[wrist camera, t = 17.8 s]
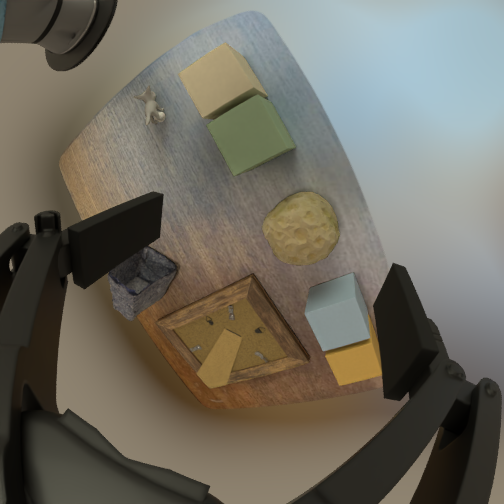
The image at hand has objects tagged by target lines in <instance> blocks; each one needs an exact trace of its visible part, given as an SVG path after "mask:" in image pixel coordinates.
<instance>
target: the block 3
mask: <svg viewBox="0 0 504 504" xmlns="http://www.w3.org/2000/svg"><path fill="white" fill-rule="evenodd" d="M305 316H306V318H307V320H308V322H309V324H310V326H311V328H312V330H313V332H314V334H315V336H316V338H317V340H318V342H319V344H320V346H321V348H322V350H323V351H327V350H330V349H334V348H338V347H342V346H345V345H349V344H352V343H356V342H359V341H362V340H366V339H369V338H370V329H369V320H368V311H367V307H366V305H365V302H364V299H363V296H362V294H361V291H360V288H359V286H358V283H357V280H356V278H355V275H354V273H350V274H347V275H345V276H342V277H339V278H336V279H334V280H331V281H328V282H325V283H322V284H319V285H316V286H313V287H311V288H310V290H309V295H308V300H307V304H306V309H305Z"/></svg>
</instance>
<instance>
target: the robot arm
mask: <svg viewBox="0 0 504 504" xmlns="http://www.w3.org/2000/svg"><path fill="white" fill-rule="evenodd" d="M98 10H99V0H0V43H34V44H38V45H40V46H42V47H44V48H45V49H47V50H48V51H49V53H53V54H54V53H55V54H67V53H70V52H71V51H73V50H74V49H76V48H77V47H78V46H79V45H80V44H81V43H82V41H83V40H84V39H85V38H86V36H87V35H88V33H89V32H90V30H91V28H92V26H93V24H94V22H95V20H96V17H97V14H98ZM163 196H164V194H161V193H157V192H150V193H147V194H145V195H142V196H140V197H137V198H135V199H132V200H130V201H127V202H125V203H122V204H120V205H117V206H115V207H113V208H110V209H108V210H106V211H103V212H101V213H99V214H96V215H94V216H92V217H90V218H87V219H85V220H83V221H81V222H79V223H77V224H74V225H72V226H70V227H68V228H67V229H65V230H63V231H61V219H60V213H59V212H56V211H44V212H40V213H38V214H37V215H35V217H34V220H35V229H36V235H33V234H30V232H29V225H28V224H27V223H20V222H19V223H15V224H13V225H11V226H10V227H8V228H7V229H6V230H5V231H4V232H2V233H1V234H0V504H224V503H222V502H221V501H220V500H219V499H217V498H216V497H214V496H213V495H211V494H210V493H208V491H209V488H210V486H209V485H206V484H203V483H201V482H198V481H196V480H193V479H191V478H188V477H186V476H183V475H181V474H179V473H176V472H174V471H172V470H170V469H165V468H161V467H157V466H153V465H149V464H145V463H141V462H138V461H135V460H131V459H128V458H126V457H124V456H123V455H122V454H121V453H120V452H119V451H118V450H117V449H116V448H115V447H114V446H113V445H112V444H111V443H110V442H109V441H108V440H107V439H106V438H105V437H104V436H103V435H102V434H101V433H100V432H99V431H98V430H97V429H96V428H95V427H93V426H92V425H90V424H89V423H87V422H86V421H84V420H83V419H82V418H80V417H79V416H78V415H76V414H75V413H74V412H72V411H71V410H70V409H67V410H66V411H65V413H64V414H59V411H58V408H57V404H56V378H57V360H58V347H59V337H60V328H61V321H62V314H63V307H64V301H65V295H66V289H67V284H68V281H67V275H68V274H70V273H71V272H72V274H73V281H74V284H76V285H78V286H80V287H81V288H83V289H86V288H87V287H89V286H90V285H91V284H93V283H94V282H95V281H97V280H98V279H100V278H101V277H102V276H104V275H105V274H107V273H108V272H109V271H111V270H112V269H114V268H115V267H117V266H118V265H119V264H121V263H122V262H124V261H125V260H127V259H128V258H130V257H131V256H133V255H134V254H136V253H137V252H139V251H140V250H142V249H143V248H145V247H146V246H148V245H149V244H151V243H152V242H154V241H155V240H157V239H158V238H160V230H161V217H162V206H163ZM10 259H11V261H12V266H13V269H12V270H11V271H10V268H9V263H10ZM373 307H374V314H375V320H376V327H377V334H378V342H379V350H380V359H381V368H382V379H383V392H384V398H386V399H391V400H397V401H400V400H401V399H402V398H403V397H404V396H405V395H406V394H407V392H409V399H410V400H409V401H408V402H407V403H406V404H405V405H404V406H403V407H402V408H401V409H400V410H399V411H398V412H397V413H396V414H395V416H394V417H393V418H392V419H391V420H390V421H389V422H388V423H387V424H386V425H385V426H384V427H383V428H382V429H381V430H380V431H379V432H378V433H377V434H376V435H375V436H374V437H373V438H372V439H371V440H370V441H369V442H367V443H366V444H365V445H364V446H363V447H362V448H361V449H360V450H359V451H358V452H356V453H355V454H354V455H353V456H352V457H350V458H349V459H348V460H347V461H346V462H344V463H343V464H342V465H341V466H340V467H338V468H337V469H336V470H334V471H333V472H332V473H331V474H329V475H328V476H327V477H325V478H324V479H323V480H321V481H320V482H319V483H317V484H316V485H314V486H313V487H311V488H310V489H309V490H307V491H306V492H304V493H303V494H301V495H300V496H298V497H297V498H295V499H293V500H292V501H290V502H289V503H287V504H378V503H379V502H380V501H381V500H382V499H383V498H384V497H385V496H386V495H387V494H388V493H389V492H390V491H391V490H392V488H393V487H394V486H395V485H396V484H397V483H398V482H399V480H400V479H401V478H402V477H403V476H404V475H405V473H406V472H407V471H408V470H409V468H410V467H411V466H412V465H413V463H414V462H415V461H416V459H417V458H418V457H419V455H420V454H421V453H422V451H423V450H424V449H425V447H426V446H427V444H428V443H429V442H430V440H431V439H432V437H433V436H434V434H435V433H436V431H437V430H438V428H439V427H440V428H439V431H438V434H437V438H436V440H435V443H434V446H433V449H432V452H431V455H430V457H429V461H428V463H427V465H426V468H425V470H424V473H423V475H422V478H421V480H420V483H419V485H418V487H417V489H416V491H415V493H414V495H413V497H412V500H411V502H410V504H488V502H489V498H490V494H491V489H492V485H493V480H494V475H495V469H496V463H497V456H498V449H499V439H500V427H501V404H502V401H501V400H502V397H501V396H502V395H501V391H500V389H499V386H498V385H497V384H496V382H494V381H493V380H491V379H489V378H483V379H481V381H480V382H479V383H478V384H477V385H474V384H472V383H470V382H468V381H466V375H465V372H464V370H463V368H462V367H461V366H460V365H459V364H458V363H456V362H455V361H453V360H450V359H449V357H448V354H447V351H446V348H445V346H444V343H443V342H442V341H443V340H442V338H441V336H440V333H439V330H438V327H437V326H436V325H435V323H434V322H433V321H432V320H431V319H429V318H427V316H426V314H425V311H424V309H423V306H422V304H421V301H420V299H419V297H418V295H417V292H416V290H415V287H414V285H413V283H412V281H411V278H410V276H409V274H408V272H407V270H406V268H405V267H404V266H401V265H398V264H395V263H393V264H392V267H391V269H390V271H389V273H388V275H387V278H386V280H385V282H384V284H383V286H382V288H381V290H380V292H379V295H378V297H377V299H376V301H375V303H374V305H373Z"/></svg>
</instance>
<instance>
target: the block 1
mask: <svg viewBox="0 0 504 504" xmlns="http://www.w3.org/2000/svg"><path fill="white" fill-rule="evenodd" d="M178 75H179V77H180V79H181V81H182V82H183V84H184V86H185V88H186V90H187V91H188V93H189V95H190V97H191V99H192V100H193V102H194V104H195V106H196V108H197V109H198V111H199V113H200V115H201V117H202V118H205V119H213V120H215V119H217V118H218V117H220V116H221V115H223V114H225V113H226V112H228V111H230V110H231V109H233V108H235V107H236V106H238V105H240V104H242V103H243V102H245V101H247V100H249V99H250V98H252V97H254V96H256V95H259V96H261V97H263V98H265V97H267V96H268V95H267V94H266V92H265V90H264V88H263V87H262V85H261V83H260V82H259V80H258V79H257V77H256V75H255V74H254V72H253V70H252V69H251V67H250V66H249V64H248V63H247V61H246V59H245V58H244V57H243V56H242V55H241V54H240V53H238V52H237V51H236V50H235V49H233V48H232V47H231V46H229V45H228V44H227V43H223V44H222V45H220V46H219V47H217V48H215V49H214V50H212V51H211V52H209V53H208V54H206V55H205V56H203V57H202V58H200V59H199V60H197V61H196V62H194V63H193V64H191V65H190V66H188V67H187V68H186V69H184V70H183V71H182V72H180V73H179V74H178Z"/></svg>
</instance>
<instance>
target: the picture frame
mask: <svg viewBox="0 0 504 504" xmlns="http://www.w3.org/2000/svg"><path fill="white" fill-rule="evenodd" d="M156 325H157V326H158V327H159V329H160V330H161V331H162V332H163V334H164V335H165V336H166V337H167V339H168V340H169V341H170V342H171V343H172V345H173V346H174V347H175V348H176V350H177V351H178V352H179V353H180V354H181V355H182V357H183V358H184V359H185V360H186V361H187V362H188V364H189V365H190V366H191V367H192V368H193V369H194V370H195V372H196V373H197V375H198V376H199V377H200V379H201V380H202V381H203V382H204V383H205V384H206V385H207V386H208V387H209V388H215V387H220V386H224V385H227V384H231V383H236V382H240V381H245V380H249V379H253V378H257V377H261V376H265V375H269V374H273V373H276V372H280V371H283V370H287V369H291V368H294V367H297V366H301V365H304V364H307V363H309V360H310V357H309V355H308V354H307V352H306V351H305V349H304V348H303V347H302V345H301V344H300V342H299V341H298V339H297V338H296V336H295V335H294V333H293V332H292V330H291V329H290V327H289V326H288V325H287V323H286V322H285V320H284V319H283V317H282V316H281V314H280V313H279V311H278V310H277V308H276V307H275V305H274V304H273V302H272V301H271V299H270V298H269V296H268V295H267V293H266V292H265V290H264V289H263V288H262V286H261V285H260V283H259V282H258V280H257V279H256V277H255V276H254V274H251V275H249V276H247V277H245V278H243V279H241V280H239V281H237V282H235V283H233V284H231V285H229V286H227V287H225V288H223V289H221V290H219V291H217V292H215V293H213V294H211V295H208V296H206V297H204V298H202V299H200V300H198V301H196V302H194V303H192V304H190V305H188V306H186V307H184V308H182V309H179V310H177V311H175V312H173V313H171V314H169V315H167V316H165V317H163V318H160V319H159V320H158V321H157V322H156Z"/></svg>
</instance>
